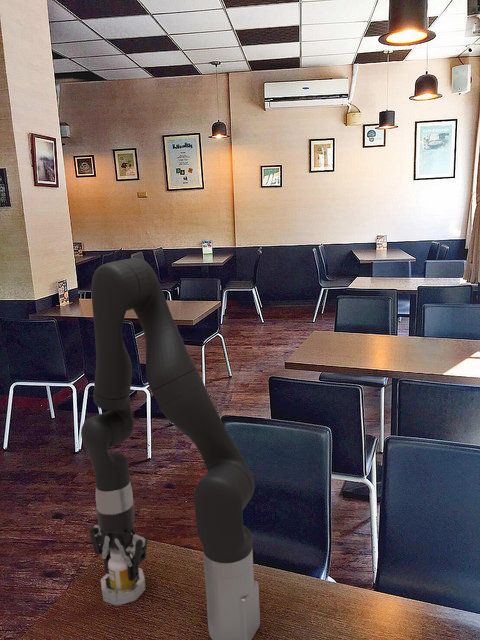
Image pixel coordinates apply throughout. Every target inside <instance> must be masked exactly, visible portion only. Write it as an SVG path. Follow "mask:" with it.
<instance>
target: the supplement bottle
mask: <svg viewBox="0 0 480 640" xmlns="http://www.w3.org/2000/svg"><path fill="white" fill-rule="evenodd" d="M129 547H130V546H129ZM129 547H128V548H126V550H127V549H129ZM110 556H111V558H110V559H109V561H108V569H109V579H110V587H109V589H112V590H115V591H121V590H125V589H128V588H132V587H133V586H134V585H135V584H136V583H137V580H135V579H134V580H133V581H129V578H128V567H127V566H128V564H127V562H126V559H125V557H122V555H121V552H120V550H118V549H113V548H111V550H110ZM130 556H131V559H132V558H133V557H132V554H130Z"/></svg>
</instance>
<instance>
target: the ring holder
mask: <svg viewBox="0 0 480 640" xmlns="http://www.w3.org/2000/svg"><path fill="white" fill-rule="evenodd" d="M138 569H139V575H138V576H137V577H136V578H135V580H136V584H135V585H134V586H133V587H132V588H128V589H125V590H121V591H115V590H112V589H111V588H110V579H109V574H107V573H106V574H104V575H103V577H101V579H100V587H101V597H102V601H103V602H105V603H108V604H111V605H113V606H116V607H117V606H122V605H125V604H129V603H132V602H135V601H137V599H139V597H140V596H141V595H142V594H143V593H144V591H146V579H145V574H144V571H143V568H140V567H138Z"/></svg>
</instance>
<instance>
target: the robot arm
mask: <svg viewBox="0 0 480 640" xmlns="http://www.w3.org/2000/svg"><path fill="white" fill-rule="evenodd" d="M91 304H92V305H91V306H92V314H93V315H92V319H93V327H94V328H93V329H94V337H95V352H96V353H95V354H96V356H95V357H96V359H95V361H96V363H95V372H94V373H95V374H94V383H93V385H94V386H93V402H94V405H96V407H97V408H99V409H101V410H104V412H102V413H100V414H96V415H94V416H91V417H88V418H86V419H85V420H84V422H83V424H82V425H81V431H80V437H81V441H82V443H83V446H84V448H85V449H86V452H87V454H88V457H89V459H90V463H91V465H92V467H93V473H94V475H93V476H94V482H95V484H94V485H95V503H96V504H95V505H96V513H97V514H96V515H97V523H96V524H95V525H93V526H92V527H91V528H90V529H89V534H90V538H91V543H92V545H93V549H94V553H95V554H96V555H98V556H99V555H101V558H102V559H103V563H104V569H105V571H106V572H105V573H106V574H109V569H108V561H109V559H110V558H111V556H110V550H111V548H113V549H118V550H120V552H121V555H122V557H125V559H126V562H127V564H128V566H127V567H128V578H129V581H133V580H134V579H135V578H136V577H137V576H138V575H139V569H138V568H139V566H140V565H141V564H142V563H143V562H144V561H145V560H146V559H147V558H146V557H147V547H148V546H147V545H148V536H147V535H146V534H144V535H142V536H140V535H138V534H137V533H136V530H135V527H134V525H135V519H136V518H135V517H136V516H135V508H134V507H135V506H134V495H133V488H132V484H131V476H130V467H129V460H128V457H127V456H126V455H125V454H124V453H121V452H109V448H112V447H115V446H116V445H118V444H121V443H124V442H125V441H127V440H128V439H129V438H131V436H132V434H133V432H134V429H135V421H134V417H133V411H132V407H131V406H132V405H131V398H130V393H131V386H132V377H133V366H132V365H133V364H132V361H131V360H132V359H131V357H130V355H129V353H128V350H127V347H126V345H125V342H124V339H123V327H124V326H123V325H124V321H125V316H126V312H128V311H131V310H133V311H134V313H135V315H136V317H137V319H138V321H139V324H140V326H141V328H142V331H143V335H144V340H145V373H146V374H145V375H146V380H147V384H148V387H149V389H150V390H151V393H152V395H153V397H154V399H155V401H156V403H157V405H158V407H159V409H160V410H161V413H162V414H163V415H164V417H165V418H166V419H167V420H168V421H169V422H170V423H171V424H173V426H175V427H176V428H177V430H179V431H181V432H182V433H183V434H185V436H187V437H188V438H189V439H190V440H191V441H192V442H193V444H194V445H195V447H196V449H197V450H198V452H199V454H200V457H201V458H202V460H203V462H204V464H205V467H206V471H207V472H206V473H205V475H204V476H202V478H200V480H199V481H198V482H197V484H196V486H195V489H194V496H193V500H194V501H193V502H194V512H195V513H194V514H195V522H196V531H197V536H198V538H199V541H200V543H201V545H202V552H203V555H202V556H203V566H204V567H203V569H204V581H205V582H204V583H205V596H206V597H205V599H206V612H207V625H208V635H209V637H210V638H211V640H253V638H254V636H255V635H256V633H257V631H258V630H259V628H260V626H261V612H260V611H261V610H260V594H259V593H260V591H259V590H260V589H259V581H258V580H255V578H254V575H255V574H254V557H253V556H254V555H253V537H252V536H253V535H252V533H251V531H250V529H249V528H248V527H247V526H246V525H244V519H243V517H244V515H243V511H244V509H245V508H246V506H247V505H248V503H249V502H250V501H251V499H252V497H253V495H254V492H255V480H254V479H255V478H254V475H253V472H252V470H251V469H250V467H249V465H248V463H247V462H246V460H245V458H244V456H243V455H242V454H241V452H240V450H239V449H238V447H237V445H236V444H235V442H234V441H233V439H232V437H231V436H230V434H229V432H228V430H227V429H226V427H225V425H224V423H223V421H222V419H221V417H220V415H219V413H218V411H217V408H216V406H215V405H214V403H213V401H212V399H211V397H210V394H209V393H208V390H207V387H206V385H205V383H204V381H203V379H202V377H201V375H200V373H199V370H198V368H197V367H196V365H195V363H194V361H193V360H192V357H191V355H190V354H189V352H188V349H187V347H186V344H185V342H184V340H183V339H182V336H181V334H180V331H179V330H178V327H177V325H176V323H175V320H174V317H173V315H172V313H171V311H170V307H169V305H168V302H167V299H166V297H165V293H164V291H163V288H162V285H161V284H160V281H159V278H158V276H157V273H156V272H155V270H154V269H153V267H152V266H151V265H150V264H149V262H147V261H146V260H144V259H142V258H139V257H138V258H137V257H132V258H131V257H130V258H126V259H119V260H115V261H111V262H107V263H104V264H101V265H100V266H98V267H97V268H96V270H94V274H93V276H92V279H91ZM128 547H129V549H127V550H126V548H128ZM130 554H131V555H132V557H133V558H132V559H131V556H130Z"/></svg>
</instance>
